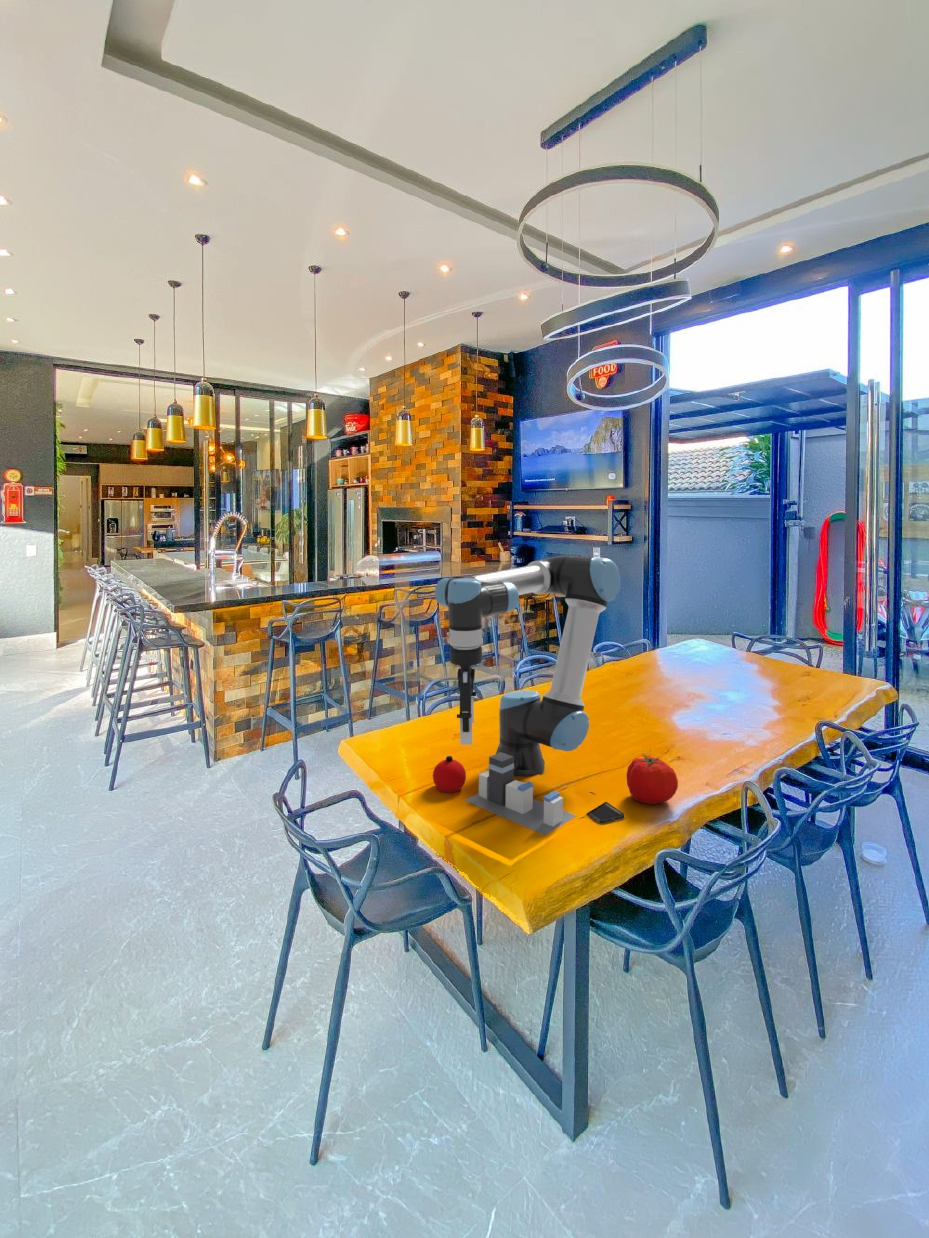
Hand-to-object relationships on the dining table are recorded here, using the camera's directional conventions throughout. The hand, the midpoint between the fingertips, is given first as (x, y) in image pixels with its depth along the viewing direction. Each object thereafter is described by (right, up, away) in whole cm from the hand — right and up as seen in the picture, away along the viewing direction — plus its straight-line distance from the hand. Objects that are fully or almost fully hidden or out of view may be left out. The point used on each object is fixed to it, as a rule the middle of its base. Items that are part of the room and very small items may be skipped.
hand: (467, 733), depth 152 cm
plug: (+9, -20, +15) cm, 26 cm away
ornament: (-5, -20, +22) cm, 30 cm away
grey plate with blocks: (+13, -22, +11) cm, 28 cm away
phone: (+33, -22, +13) cm, 42 cm away
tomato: (+48, -21, +17) cm, 55 cm away
